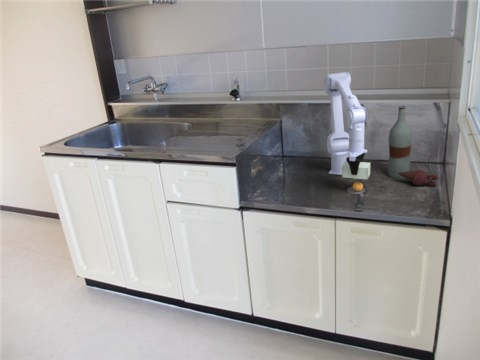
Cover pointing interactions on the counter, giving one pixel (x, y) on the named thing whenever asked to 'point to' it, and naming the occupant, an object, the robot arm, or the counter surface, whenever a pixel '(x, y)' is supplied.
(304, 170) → the counter surface
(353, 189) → the spot
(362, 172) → the pale green block
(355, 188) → the ball
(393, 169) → the bottle
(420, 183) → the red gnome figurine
